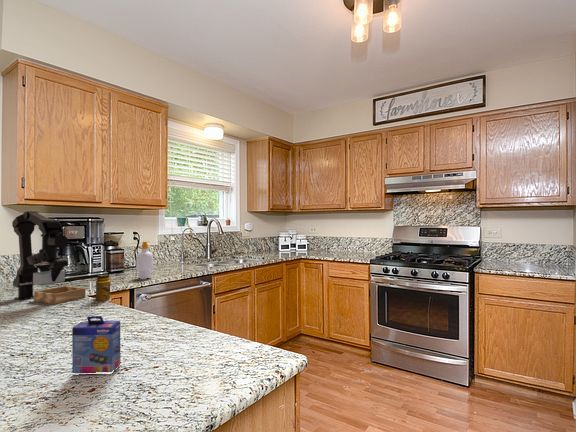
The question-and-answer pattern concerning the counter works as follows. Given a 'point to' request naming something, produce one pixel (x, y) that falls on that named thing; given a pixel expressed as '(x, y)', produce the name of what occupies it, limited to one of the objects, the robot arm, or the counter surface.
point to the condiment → (102, 289)
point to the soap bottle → (144, 262)
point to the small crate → (47, 278)
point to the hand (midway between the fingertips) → (49, 280)
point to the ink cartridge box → (95, 346)
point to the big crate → (59, 294)
